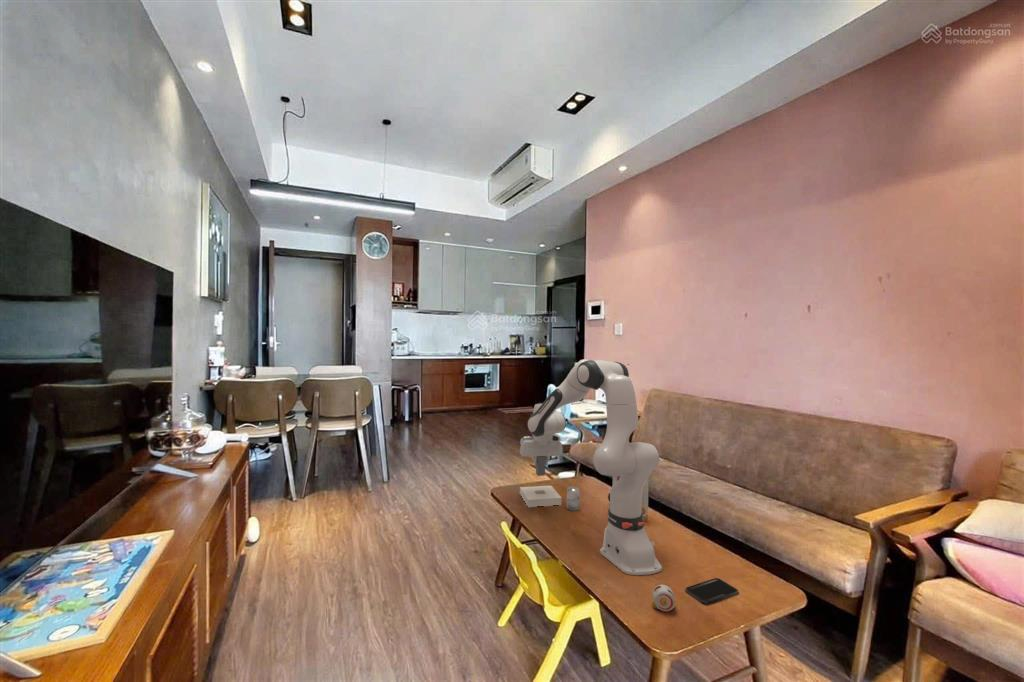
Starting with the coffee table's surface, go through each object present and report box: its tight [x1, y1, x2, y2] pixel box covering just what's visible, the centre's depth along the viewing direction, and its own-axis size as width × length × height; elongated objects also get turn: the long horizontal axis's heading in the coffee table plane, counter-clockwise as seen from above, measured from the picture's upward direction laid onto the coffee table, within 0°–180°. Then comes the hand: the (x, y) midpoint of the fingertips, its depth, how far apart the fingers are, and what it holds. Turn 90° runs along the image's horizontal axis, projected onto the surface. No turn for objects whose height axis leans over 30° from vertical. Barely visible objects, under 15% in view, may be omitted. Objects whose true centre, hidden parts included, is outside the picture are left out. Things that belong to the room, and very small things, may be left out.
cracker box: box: [612, 475, 649, 522], centre depth 174 cm, size 14×6×21 cm, turn 97°
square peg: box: [535, 456, 547, 477], centre depth 194 cm, size 4×4×9 cm
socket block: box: [519, 485, 563, 508], centre depth 194 cm, size 16×16×4 cm
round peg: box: [566, 485, 580, 512], centre depth 184 cm, size 6×6×9 cm
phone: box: [684, 577, 739, 606], centre depth 124 cm, size 8×1×15 cm
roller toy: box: [651, 584, 676, 612], centre depth 116 cm, size 4×6×6 cm
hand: (540, 465), depth 194 cm, fingers closed on square peg, 3 cm apart
